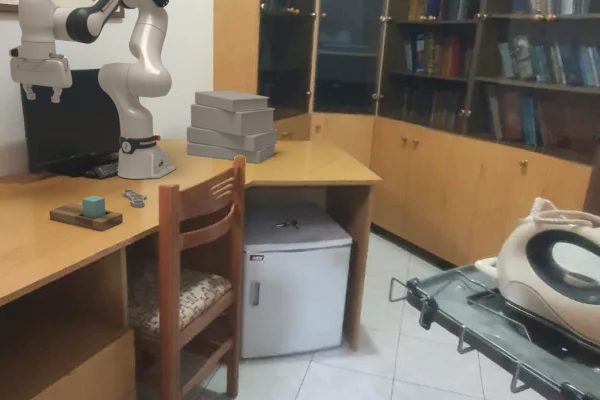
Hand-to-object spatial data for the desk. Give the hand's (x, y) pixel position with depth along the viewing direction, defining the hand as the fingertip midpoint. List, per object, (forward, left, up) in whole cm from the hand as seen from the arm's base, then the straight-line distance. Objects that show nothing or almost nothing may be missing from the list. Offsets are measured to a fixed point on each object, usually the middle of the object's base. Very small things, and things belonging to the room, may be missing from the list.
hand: (43, 100), depth 159 cm
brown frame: (+12, +25, -29) cm, 40 cm away
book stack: (-83, +17, -30) cm, 90 cm away
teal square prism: (+12, +28, -29) cm, 42 cm away
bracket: (-10, +24, -30) cm, 39 cm away
